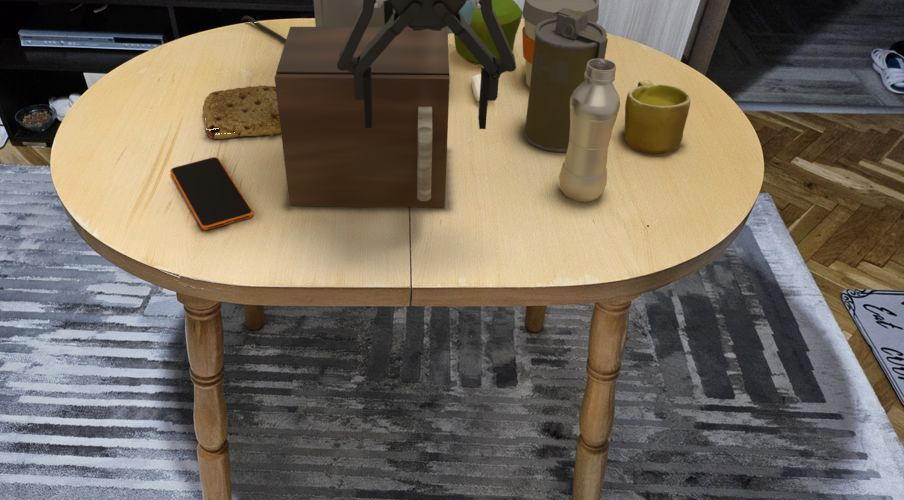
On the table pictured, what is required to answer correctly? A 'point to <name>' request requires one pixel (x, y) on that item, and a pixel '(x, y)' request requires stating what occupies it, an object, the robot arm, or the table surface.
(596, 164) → the plastic bottle
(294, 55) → the cupboard
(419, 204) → the cupboard door
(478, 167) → the table surface
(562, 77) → the canister
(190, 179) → the smartphone
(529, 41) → the reusable coffee cup
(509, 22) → the apple
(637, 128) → the mug
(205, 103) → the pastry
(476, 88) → the white ridged oblong
